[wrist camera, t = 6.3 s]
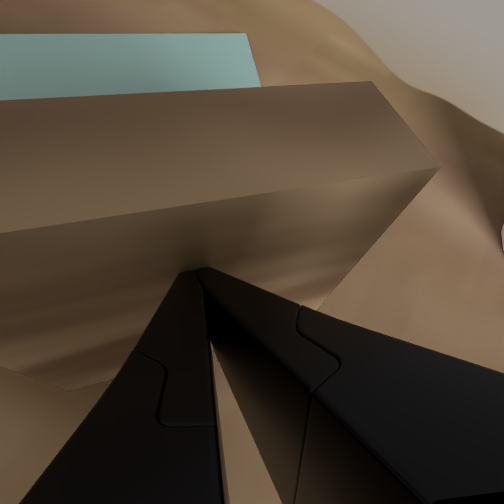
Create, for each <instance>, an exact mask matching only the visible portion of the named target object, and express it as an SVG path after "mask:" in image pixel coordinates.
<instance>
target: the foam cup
mask: <svg viewBox="0 0 504 504" xmlns="http://www.w3.org/2000/svg"><path fill="white" fill-rule="evenodd" d="M501 237H502V244H503V250H504V224H503V227H502V230H501Z"/></svg>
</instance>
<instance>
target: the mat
mask: <svg viewBox="0 0 504 504" xmlns="http://www.w3.org/2000/svg"><path fill="white" fill-rule="evenodd" d="M250 87H261V84H260V81H259V77H258V74H257V70H256V67H255V64H254V60H253V57H252V53H251V50H250V46H249V43H248V40H247V36H246V33H227V34H0V100H18V99H37V98H56V97H76V96H95V95H115V94H134V93H153V92H173V91H192V90H211V89H231V88H250Z"/></svg>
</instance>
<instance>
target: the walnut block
mask: <svg viewBox="0 0 504 504" xmlns="http://www.w3.org/2000/svg"><path fill="white" fill-rule="evenodd" d="M440 168H441V165H440V164H439V163H438V162H437V161H436V159H435V158H434V157H433V156H432V154H431V153H430V152H429V151H428V150H427V148H426V147H425V146H424V145H423V144H422V142H421V141H420V140H419V139H418V137H417V136H416V135H415V134H414V133H413V131H412V130H411V129H410V128H409V126H408V125H407V124H406V123H405V122H404V120H403V119H402V118H401V117H400V116H399V114H398V113H397V112H396V111H395V109H394V108H393V107H392V106H391V105H390V103H389V102H388V101H387V100H386V98H385V97H384V96H383V95H382V94H381V92H380V91H379V90H378V89H377V88H376V86H375V85H374V84H373V83H372V81H366V82H347V83H327V84H308V85H289V86H269V87H250V88H231V89H211V90H192V91H173V92H153V93H134V94H115V95H95V96H76V97H56V98H37V99H18V100H0V366H2V367H4V368H7V369H10V370H13V371H15V372H18V373H21V374H23V375H26V376H29V377H31V378H34V379H37V380H40V381H42V382H45V383H48V384H50V385H53V386H56V387H58V388H61V389H64V390H67V391H73V390H76V389H80V388H83V387H87V386H90V385H94V384H97V383H101V382H104V381H108V380H111V379H114V378H115V376H116V375H117V373H118V372H119V370H120V369H121V367H122V366H123V364H124V362H125V361H126V359H127V357H128V356H129V354H130V352H131V351H132V350H133V349H134V347H135V345H136V344H137V342H138V340H139V339H140V337H141V335H142V334H143V332H144V330H145V329H146V327H147V325H148V324H149V322H150V320H151V319H152V317H153V315H154V314H155V312H156V310H157V309H158V307H159V305H160V304H161V302H162V300H163V299H164V297H165V295H166V293H167V292H168V290H169V288H170V287H171V285H172V283H173V282H174V280H175V278H176V277H177V275H178V274H179V273H180V272H185V271H190V270H194V271H195V270H196V269H199V268H204V267H212V268H214V269H217V270H219V271H221V272H224V273H226V274H229V275H231V276H233V277H236V278H238V279H241V280H243V281H245V282H248V283H250V284H252V285H255V286H257V287H260V288H262V289H264V290H267V291H269V292H272V293H274V294H276V295H279V296H281V297H283V298H286V299H288V300H291V301H293V302H295V303H298V304H300V306H301V305H304V306H306V307H309V308H311V309H313V310H317V308H318V307H319V306H320V305H321V304H322V303H323V302H324V300H325V299H326V298H327V297H328V296H329V295H330V294H331V292H332V291H333V290H334V289H335V288H336V287H337V286H338V284H339V283H340V282H341V281H342V280H343V279H344V278H345V276H346V275H347V274H348V273H349V272H350V271H351V270H352V268H353V267H354V266H355V265H356V264H357V263H358V262H359V260H360V259H361V258H362V257H363V256H364V255H365V254H366V252H367V251H368V250H369V249H370V248H371V247H372V245H373V244H374V243H375V242H376V241H377V240H378V239H379V237H380V236H381V235H382V234H383V233H384V232H385V231H386V229H387V228H388V227H389V226H390V225H391V224H392V223H393V221H394V220H395V219H396V218H397V217H398V216H399V215H400V213H401V212H402V211H403V210H404V209H405V208H406V207H407V205H408V204H409V203H410V202H411V201H412V200H413V199H414V197H415V196H416V195H417V194H418V193H419V192H420V191H421V189H422V188H423V187H424V186H425V185H426V184H427V183H428V181H429V180H430V179H431V178H432V177H433V176H434V175H435V173H436V172H437V171H438V170H439V169H440ZM210 342H211V341H210ZM211 349H212V351H214V349H213V347H212V344H211Z"/></svg>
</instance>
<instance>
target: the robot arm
mask: <svg viewBox="0 0 504 504" xmlns="http://www.w3.org/2000/svg"><path fill="white" fill-rule="evenodd" d="M210 341H211V342H210ZM211 344H212V347H213V349H214V352H215V354H216V356H217V359H218V361H219V363H220V365H221V367H222V370H223V372H224V374H225V376H226V379H227V381H228V383H229V385H230V388H231V390H232V392H233V394H234V397H235V399H236V401H237V403H238V405H239V408H240V410H241V412H242V414H243V417H244V419H245V421H246V423H247V426H248V428H249V430H250V432H251V435H252V437H253V439H254V441H255V443H256V446H257V448H258V450H259V452H260V455H261V457H262V459H263V461H264V464H265V466H266V468H267V470H268V473H269V475H270V477H271V479H272V481H273V484H274V486H275V488H276V490H277V493H278V495H279V497H280V499H281V502H282V504H504V373H501V372H498V371H495V370H492V369H489V368H486V367H483V366H480V365H477V364H474V363H471V362H467V361H464V360H461V359H458V358H455V357H452V356H449V355H446V354H443V353H440V352H437V351H434V350H430V349H427V348H424V347H421V346H418V345H415V344H412V343H409V342H406V341H403V340H400V339H396V338H393V337H390V336H387V335H384V334H381V333H378V332H375V331H372V330H369V329H366V328H363V327H360V326H357V325H354V324H351V323H348V322H345V321H342V320H339V319H336V318H334V317H331V316H329V315H326V314H324V313H321V312H318V311H316V310H313V309H311V308H309V307H306V306H304V305H301V306H300V304H298V303H295V302H293V301H291V300H288V299H286V298H283V297H281V296H279V295H276V294H274V293H272V292H269V291H267V290H264V289H262V288H260V287H257V286H255V285H252V284H250V283H248V282H245V281H243V280H241V279H238V278H236V277H233V276H231V275H229V274H226V273H224V272H221V271H219V270H217V269H214V268H212V267H204V268H199V269H196V270H195V271H194V270H190V271H185V272H180V273H179V274H178V275H177V277H176V278H175V280H174V282H173V283H172V285H171V287H170V288H169V290H168V292H167V293H166V295H165V297H164V299H163V300H162V302H161V304H160V305H159V307H158V309H157V310H156V312H155V314H154V315H153V317H152V319H151V320H150V322H149V324H148V325H147V327H146V329H145V330H144V332H143V334H142V335H141V337H140V339H139V340H138V342H137V344H136V345H135V347H134V349H133V350H132V351H131V352H130V354H129V356H128V357H127V359H126V361H125V362H124V364H123V366H122V367H121V369H120V370H119V372H118V373H117V375H116V376H115V378H114V379H113V381H112V382H111V384H110V385H109V387H108V388H107V389H106V391H105V392H104V394H103V395H102V396H101V398H100V399H99V400H98V402H97V403H96V404H95V406H94V407H93V408H92V410H91V411H90V412H89V414H88V415H87V416H86V418H85V419H84V420H83V422H82V423H81V424H80V425H79V427H78V428H77V429H76V431H75V432H74V433H73V434H72V436H71V437H70V438H69V440H68V441H67V442H66V444H65V445H64V446H63V447H62V449H61V450H60V451H59V453H58V454H57V455H56V456H55V458H54V459H53V460H52V462H51V463H50V464H49V466H48V467H47V468H46V469H45V471H44V472H43V473H42V475H41V476H40V477H39V478H38V480H37V481H36V482H35V484H34V485H33V486H32V488H31V489H30V490H29V491H28V493H27V494H26V495H25V497H24V498H23V499H22V501H21V502H20V503H19V504H230V503H229V494H228V486H227V477H226V469H225V460H224V452H223V443H222V434H221V426H220V417H219V409H218V400H217V392H216V383H215V375H214V366H213V358H212V349H211Z"/></svg>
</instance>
